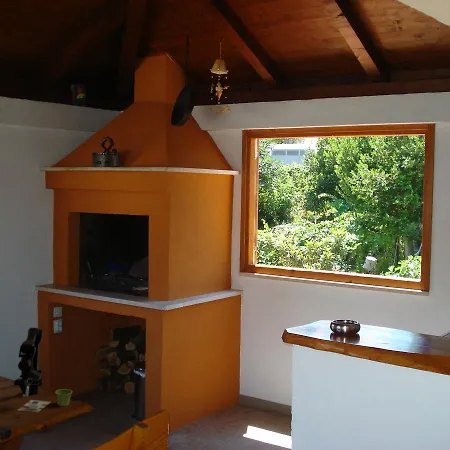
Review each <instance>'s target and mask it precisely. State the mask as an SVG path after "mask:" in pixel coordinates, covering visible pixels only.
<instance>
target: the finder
mask: <svg viewBox="0 0 450 450" xmlns="http://www.w3.org/2000/svg"><path fill="white" fill-rule="evenodd" d="M38 401H39V400H38ZM38 401H32V402H31V403H30V404H29V409H36V410H38V409H39V408H40V407H41V403H42V402H38Z"/></svg>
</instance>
